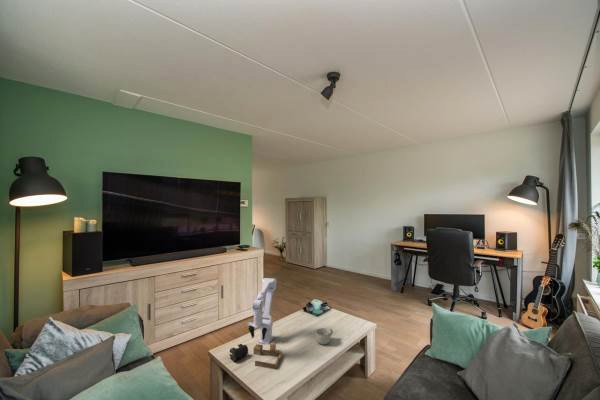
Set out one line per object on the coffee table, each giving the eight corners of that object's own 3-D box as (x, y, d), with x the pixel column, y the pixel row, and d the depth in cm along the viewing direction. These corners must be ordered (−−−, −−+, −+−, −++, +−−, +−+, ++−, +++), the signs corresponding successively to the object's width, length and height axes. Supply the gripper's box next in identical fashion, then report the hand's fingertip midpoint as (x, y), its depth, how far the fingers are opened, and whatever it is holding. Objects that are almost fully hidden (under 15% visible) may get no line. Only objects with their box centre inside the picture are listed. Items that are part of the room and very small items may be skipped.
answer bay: (263, 353, 170) (263, 349, 170) (282, 356, 167) (282, 352, 167) (254, 365, 158) (254, 361, 158) (275, 369, 154) (275, 365, 154)
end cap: (235, 363, 159) (235, 353, 159) (229, 359, 164) (229, 348, 164) (248, 356, 167) (248, 346, 167) (241, 352, 172) (241, 342, 172)
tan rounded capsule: (271, 349, 175) (271, 342, 175) (276, 350, 174) (276, 343, 173) (269, 352, 171) (269, 345, 171) (274, 353, 170) (274, 346, 170)
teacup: (319, 347, 176) (319, 336, 176) (312, 339, 187) (313, 329, 186) (337, 343, 182) (337, 332, 182) (329, 336, 192) (329, 325, 192)
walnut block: (256, 350, 173) (256, 343, 173) (262, 351, 172) (262, 344, 172) (253, 354, 169) (253, 347, 169) (259, 355, 168) (259, 348, 168)
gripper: (245, 319, 168) (245, 339, 169) (265, 322, 165) (265, 342, 165) (250, 314, 175) (250, 334, 175) (270, 317, 172) (269, 337, 172)
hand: (258, 338), depth 171 cm, fingers open, 7 cm apart
